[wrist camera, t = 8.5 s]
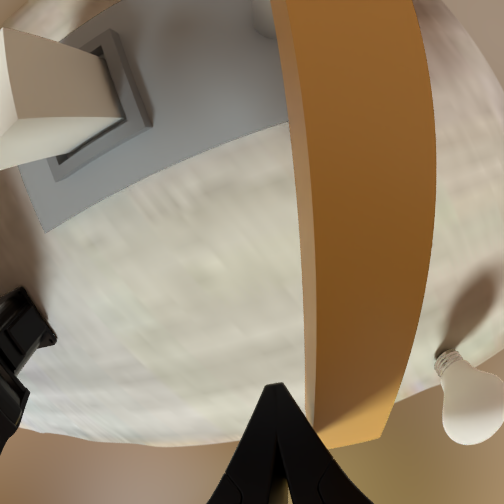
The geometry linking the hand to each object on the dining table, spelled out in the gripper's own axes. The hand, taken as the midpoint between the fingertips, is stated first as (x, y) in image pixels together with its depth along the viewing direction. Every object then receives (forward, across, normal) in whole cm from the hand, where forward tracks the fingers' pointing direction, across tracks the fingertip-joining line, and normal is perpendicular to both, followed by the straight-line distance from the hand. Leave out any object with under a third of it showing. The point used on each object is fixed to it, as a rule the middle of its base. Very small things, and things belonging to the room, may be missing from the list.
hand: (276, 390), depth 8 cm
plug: (+10, +8, -12) cm, 18 cm away
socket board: (+11, +5, -12) cm, 18 cm away
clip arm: (+1, -3, -7) cm, 7 cm away
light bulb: (+11, -16, +15) cm, 24 cm away
